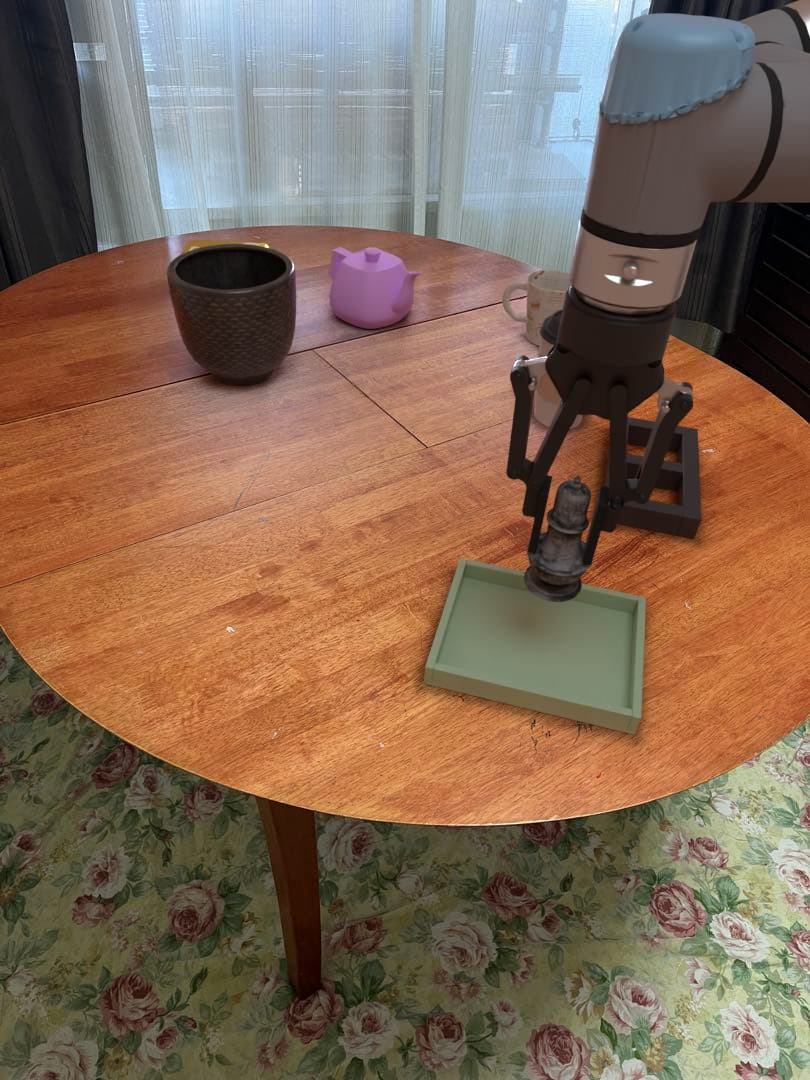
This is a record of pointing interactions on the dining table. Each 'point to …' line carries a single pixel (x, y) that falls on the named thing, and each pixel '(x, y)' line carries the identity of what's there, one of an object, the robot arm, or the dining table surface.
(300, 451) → the dining table surface
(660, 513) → the rack
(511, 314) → the mug
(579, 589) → the dark grey chess piece
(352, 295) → the teapot
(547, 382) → the coffee cup
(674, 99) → the robot arm
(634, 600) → the tray
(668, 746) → the dining table surface
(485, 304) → the dining table surface
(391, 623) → the dining table surface
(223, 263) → the planter
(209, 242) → the element tile
